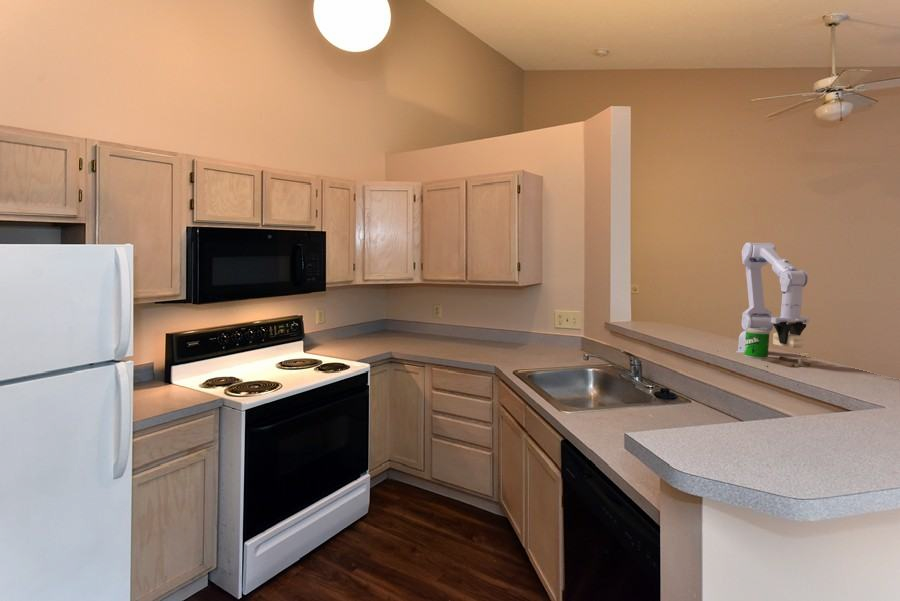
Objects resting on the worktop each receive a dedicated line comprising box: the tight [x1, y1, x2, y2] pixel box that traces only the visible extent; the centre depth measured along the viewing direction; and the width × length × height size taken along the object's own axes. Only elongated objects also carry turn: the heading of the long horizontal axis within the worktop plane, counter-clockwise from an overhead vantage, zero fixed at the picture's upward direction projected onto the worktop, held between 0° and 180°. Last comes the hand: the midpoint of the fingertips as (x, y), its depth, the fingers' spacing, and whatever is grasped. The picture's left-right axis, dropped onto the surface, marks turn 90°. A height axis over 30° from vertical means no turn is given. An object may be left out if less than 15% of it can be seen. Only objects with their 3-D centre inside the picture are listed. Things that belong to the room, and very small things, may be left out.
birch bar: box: [772, 332, 804, 349], centre depth 174 cm, size 8×4×4 cm, turn 14°
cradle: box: [761, 355, 837, 368], centre depth 175 cm, size 12×20×4 cm, turn 104°
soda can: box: [743, 327, 771, 360], centre depth 184 cm, size 8×8×12 cm
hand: (788, 343), depth 173 cm, fingers closed on birch bar, 4 cm apart
